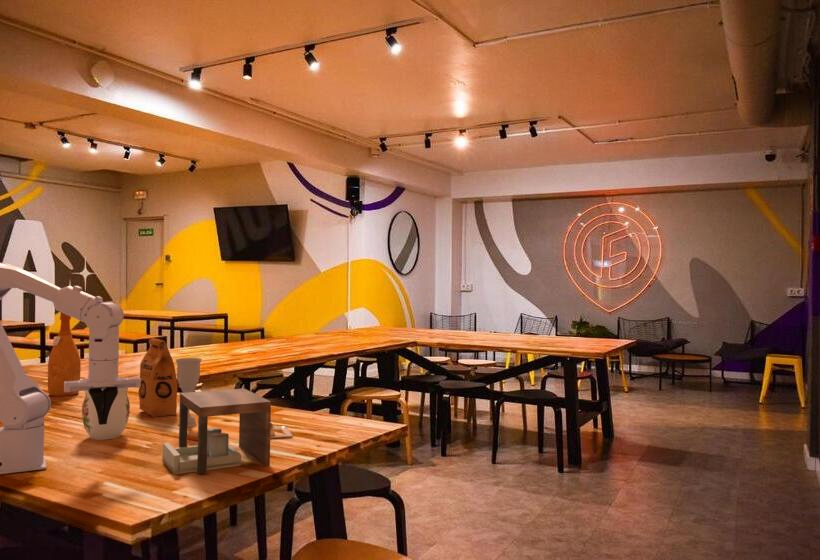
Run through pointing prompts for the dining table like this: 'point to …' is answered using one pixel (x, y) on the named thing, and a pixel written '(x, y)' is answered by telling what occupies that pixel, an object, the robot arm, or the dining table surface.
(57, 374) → the wine bottle
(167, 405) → the coffee package
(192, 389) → the chalice
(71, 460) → the dining table surface
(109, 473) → the dining table surface
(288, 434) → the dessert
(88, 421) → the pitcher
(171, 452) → the tray
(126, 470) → the dining table surface
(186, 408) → the miniature side table
